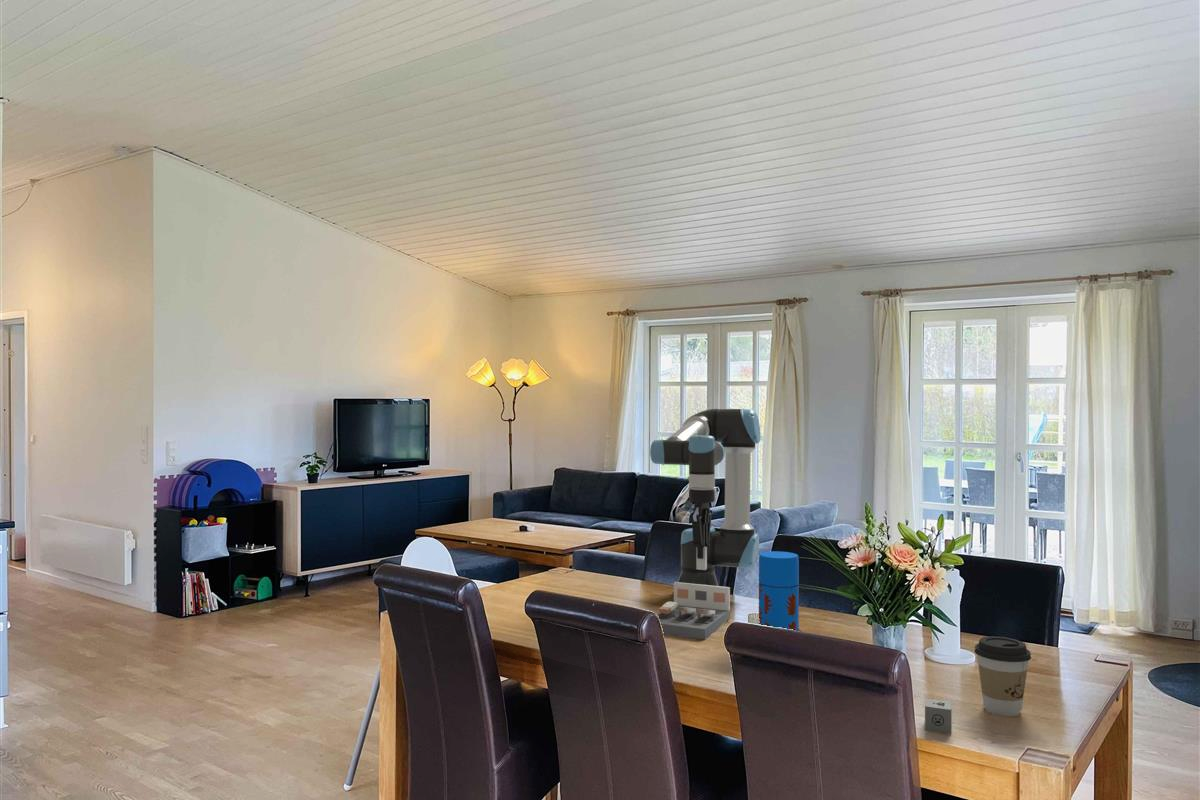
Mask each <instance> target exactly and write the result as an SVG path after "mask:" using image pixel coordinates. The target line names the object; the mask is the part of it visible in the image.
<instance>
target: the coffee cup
mask: <svg viewBox="0 0 1200 800" xmlns="http://www.w3.org/2000/svg"><path fill="white" fill-rule="evenodd" d="M973 651H974V653H975V654H976V656H977V664H978V671H979V679H980V686H981V693H982V694H981V695H982V702H983V706H984V710H985V711H986V712H987V713H990V714H992V715H994V716H1000V717H1007V718H1008V717H1009V718H1012V717H1017V716H1020V714H1021V711H1022V710H1023V703H1024V702H1023V701H1024V695H1025V688H1026V680H1027V675H1028V674H1027V673H1028V667H1029V661H1030V660H1031V659H1032V654H1031V651H1030V650H1029V649H1027V645H1026V643H1025V642H1023V641H1021V640H1018V639H1016V638H1011V637H1006V636H995V635H994V636H984V637H981V638H980V639H978V643H976V644H975V645H974V650H973Z"/></svg>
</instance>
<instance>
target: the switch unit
mask: <svg viewBox="0 0 1200 800" xmlns="http://www.w3.org/2000/svg"><path fill="white" fill-rule="evenodd" d="M673 602H677V607H676V608H675V609H673V610H672V611H671V612H670V613H669V614H665V613H658V614H657V615H658V616H659V619H660V622H661V625H662V628H663V632H664V634H663V635H666V636H667V635H668V636H673V635H674V636H675V637H680V636H681V637H682V638H688V637H689V639H696V638H697V639H698V640H703V639H704V641H705V640H707V639H708V638H709V637H710V636H712V635H713V634H714V633H715V632H716V630H717V629H718V628H719V627H720V626H721V625H722V624H723V623H724V622H726V621H727V620H729V619H730V620H731V617H730V616H731V609H730V608H731V587H729V586H722V585H721V586H720V585H719V586H711V585H701V584H691V583H681V582H678V581H674V582H673ZM678 607H688V608H696V611H693V612H683V611H678ZM697 609H705V610H714V611H715V613H712V615H711V614H700V613H697ZM730 620H729V621H730ZM726 623H727V622H726ZM721 627H722V626H721ZM721 627H720V628H721ZM720 628H719V629H720ZM719 629H718V630H719ZM718 630H717V631H718ZM713 632H714V633H713ZM712 633H713V634H712ZM711 634H712V635H711ZM706 638H707V639H706ZM697 639H696V640H697Z"/></svg>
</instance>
